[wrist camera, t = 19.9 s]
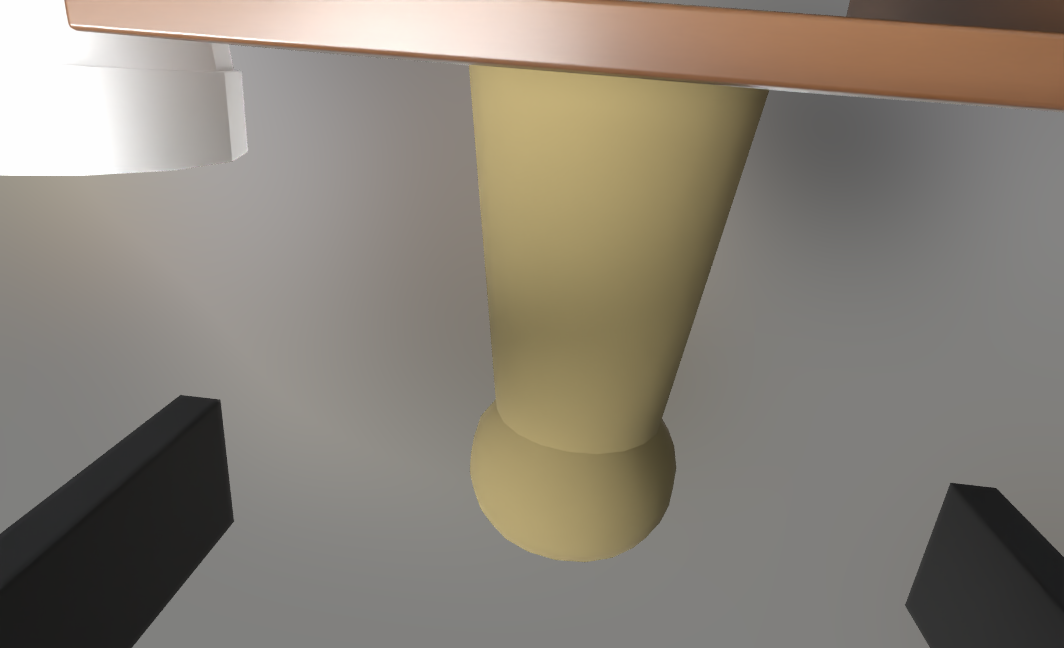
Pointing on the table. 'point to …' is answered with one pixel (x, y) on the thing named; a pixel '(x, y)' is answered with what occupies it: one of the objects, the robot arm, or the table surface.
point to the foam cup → (111, 99)
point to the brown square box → (656, 40)
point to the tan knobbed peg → (593, 290)
